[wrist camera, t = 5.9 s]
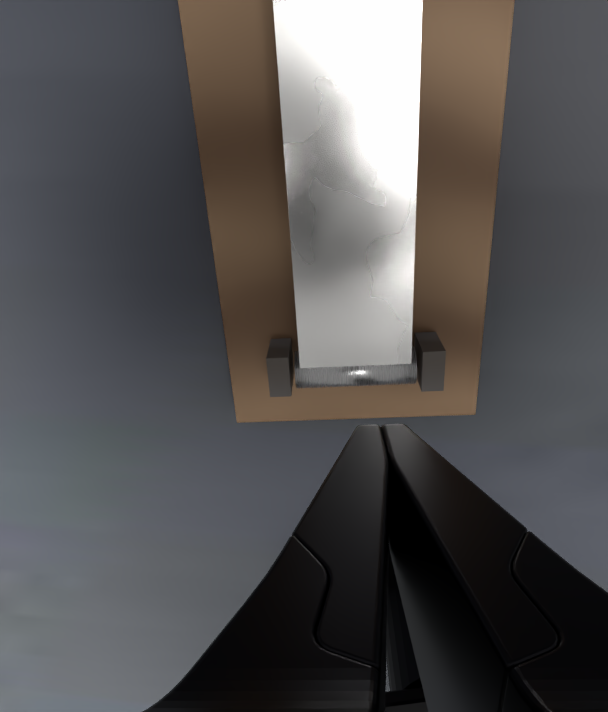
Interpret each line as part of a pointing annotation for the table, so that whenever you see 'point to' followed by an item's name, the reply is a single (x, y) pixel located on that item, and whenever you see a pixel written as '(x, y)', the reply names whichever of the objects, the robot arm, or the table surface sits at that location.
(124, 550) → the table surface
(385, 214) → the bar
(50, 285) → the table surface
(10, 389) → the table surface
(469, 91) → the walnut board
